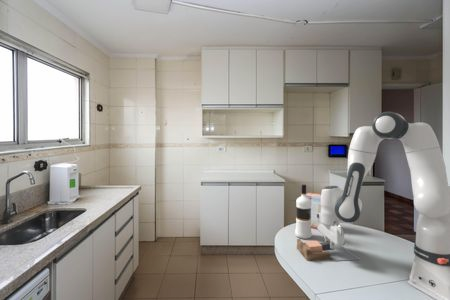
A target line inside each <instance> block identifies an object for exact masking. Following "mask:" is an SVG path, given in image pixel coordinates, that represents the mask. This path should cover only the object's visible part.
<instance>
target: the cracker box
mask: <svg viewBox="0 0 450 300" xmlns="http://www.w3.org/2000/svg"><path fill="white" fill-rule="evenodd" d="M306 196H307V197H308V198H309V199H310V200H311V229H316V230H318V229H317V217H316V214H317V213H321V194H320V193H314V192H306Z"/></svg>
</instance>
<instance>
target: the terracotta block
mask: <svg viewBox="0 0 450 300" xmlns="http://www.w3.org/2000/svg"><path fill="white" fill-rule="evenodd" d="M304 243H305V245H306V246H307V247H308V248H309V249H310V252H324V251H326V250H334V249H331V248H330V247H329V244H330V243H331V242H325V241H324V242H323V241H322V242H319V241H318V240H309V241H304Z"/></svg>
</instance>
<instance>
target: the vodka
mask: <svg viewBox="0 0 450 300" xmlns="http://www.w3.org/2000/svg"><path fill="white" fill-rule="evenodd" d="M306 194H307V184H301V196H299V197H297V198H296V201H295V202H296V205H295V207H296V213H295V215H296V216H295V217H296V218H295V220H296V221H295V222H296V223H295V231H294V235H295V237H297V239H300V240H301V239H302V240H308V239H311V238H312V236H313V233H312V228H311V200H310V199H309V198H308V197H307V196H306Z"/></svg>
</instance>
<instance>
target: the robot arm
mask: <svg viewBox="0 0 450 300" xmlns="http://www.w3.org/2000/svg"><path fill="white" fill-rule="evenodd" d="M436 135H437V134H436V133H435V132H434V129H433V128H432V127H431V125H430V124H428V123H426V122H421V121H420V122H411V123H410V122H407V120H406V118H405V117H404V116H403V115H401V114H399V113H396V112H393V111H384V112H381V113H378V114H377V115H376V116H375V117H374V119H372V123H371V125H370V126H369V125H368V126H367V125H364V126H360V127H357V128H356V130H355V131H354V133H353V135H352V138H351V141H350V143H349V149H348V154H347V171H346V172H347V174H346V179H345V183H344V187H343V189H342V188H340V187H339V186H337V185H327V186H324V188H322V189H321V194H320V195H321V213H317V214H316V217H317V229H316V230H318V232H320V233H321V234H322V235H323V238H324V242H331V243H330V244H329V247H330V248H331V249H334V245H342V246H344V245H345V231H344V229H343V228H342V225H341V221H342V222H344V223H354V222H356V221H358V220H359V218H360V215H361V211H362V209H363V201H362V199H361V198H360V193H361V191H362V185H363V182H364V179H365V177H366V176H367V174H368V173H369V172H370V170H371V169H372V167H373V165H374V163H375V160H376V157H377V153H378V148H379V145H380V143H381V142H382V141H387V140H388V141H389V140H395V139H397V140H399V141H400V142H401V144H402V145H403V149H404V152H405V157H406V159H407V164H408V167H409V173H410V177H411V178H410V180H411V181H410V182H411V189H412V196H413V206H414V208H415V209H416V211H417V212H418V217H417V222H416V227H415V228H416V231H415V243H414V245H413V254H414V257H413V262H412V266H411V271H410V273H409V274H408V277H409V279H408V281H407V282H408V285H410V286H412V287H414V288H415V289H417V290H419V291H420V292H422V293H424V294H426V295H428V296H429V297H430V298H432V299H434V300H450V185H449V182H448V177H447V167H446V164H445V160H444V157H443V152H442V149H441V147H440V143H439V141H438V137H437V136H436Z"/></svg>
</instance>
